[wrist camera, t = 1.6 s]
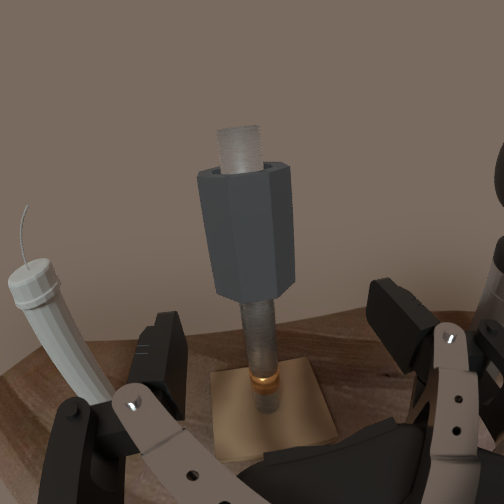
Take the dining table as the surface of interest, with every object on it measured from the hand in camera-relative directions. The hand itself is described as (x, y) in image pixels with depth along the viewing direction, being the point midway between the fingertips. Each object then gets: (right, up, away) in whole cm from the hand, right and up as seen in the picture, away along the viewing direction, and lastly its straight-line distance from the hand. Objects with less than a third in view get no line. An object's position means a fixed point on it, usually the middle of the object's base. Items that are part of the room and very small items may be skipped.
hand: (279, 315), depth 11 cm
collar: (-1, 0, +12) cm, 12 cm away
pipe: (-19, -21, +18) cm, 34 cm away
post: (+1, -18, +20) cm, 27 cm away
